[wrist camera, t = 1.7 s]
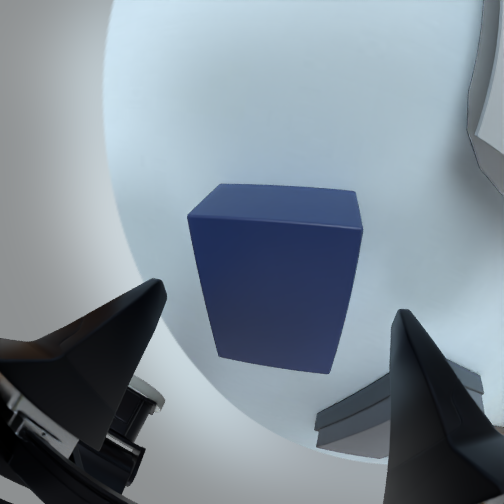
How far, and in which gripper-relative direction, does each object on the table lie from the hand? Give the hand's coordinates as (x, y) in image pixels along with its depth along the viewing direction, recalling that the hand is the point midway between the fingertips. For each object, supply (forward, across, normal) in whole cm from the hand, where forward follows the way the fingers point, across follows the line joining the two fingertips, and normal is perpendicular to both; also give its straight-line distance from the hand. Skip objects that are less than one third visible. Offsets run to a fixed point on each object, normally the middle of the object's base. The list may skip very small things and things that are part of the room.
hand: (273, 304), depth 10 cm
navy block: (+2, 0, 0) cm, 2 cm away
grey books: (+2, -9, +11) cm, 15 cm away
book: (+2, -16, -14) cm, 22 cm away
